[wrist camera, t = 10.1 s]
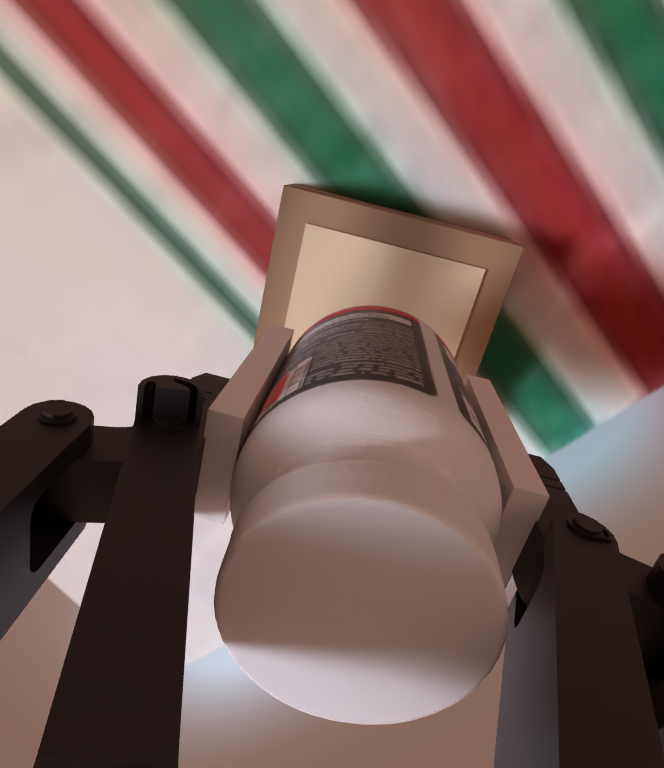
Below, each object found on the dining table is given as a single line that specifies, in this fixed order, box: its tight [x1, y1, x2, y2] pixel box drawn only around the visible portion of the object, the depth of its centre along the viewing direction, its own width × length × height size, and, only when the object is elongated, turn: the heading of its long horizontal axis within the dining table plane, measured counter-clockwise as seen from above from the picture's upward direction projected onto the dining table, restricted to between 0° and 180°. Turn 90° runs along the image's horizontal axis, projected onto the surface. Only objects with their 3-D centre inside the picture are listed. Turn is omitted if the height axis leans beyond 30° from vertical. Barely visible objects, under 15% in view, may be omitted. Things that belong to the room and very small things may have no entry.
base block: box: [253, 184, 524, 383], centre depth 24 cm, size 10×10×3 cm
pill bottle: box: [214, 305, 508, 725], centre depth 13 cm, size 6×6×10 cm
